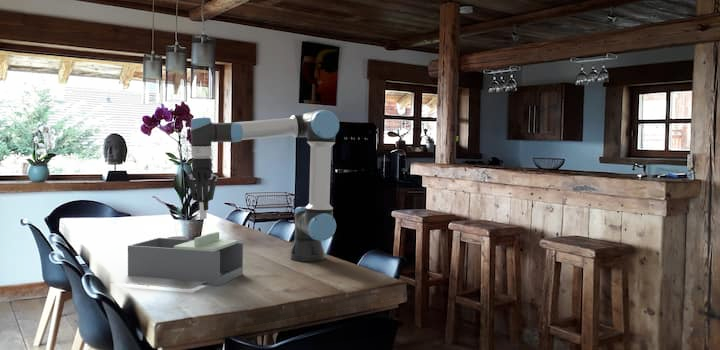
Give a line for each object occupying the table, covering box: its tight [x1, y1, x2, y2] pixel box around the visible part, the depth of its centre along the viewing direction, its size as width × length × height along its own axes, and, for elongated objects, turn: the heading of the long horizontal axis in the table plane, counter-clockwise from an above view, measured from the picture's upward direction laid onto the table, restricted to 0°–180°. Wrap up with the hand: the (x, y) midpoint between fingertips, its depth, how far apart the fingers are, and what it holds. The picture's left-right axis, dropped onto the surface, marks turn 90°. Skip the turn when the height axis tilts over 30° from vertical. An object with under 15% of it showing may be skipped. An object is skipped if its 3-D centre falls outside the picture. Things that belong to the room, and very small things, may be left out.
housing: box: [127, 237, 244, 287], centre depth 221 cm, size 37×20×12 cm, turn 76°
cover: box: [174, 231, 240, 252], centre depth 219 cm, size 16×20×4 cm
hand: (203, 218), depth 228 cm, fingers closed
